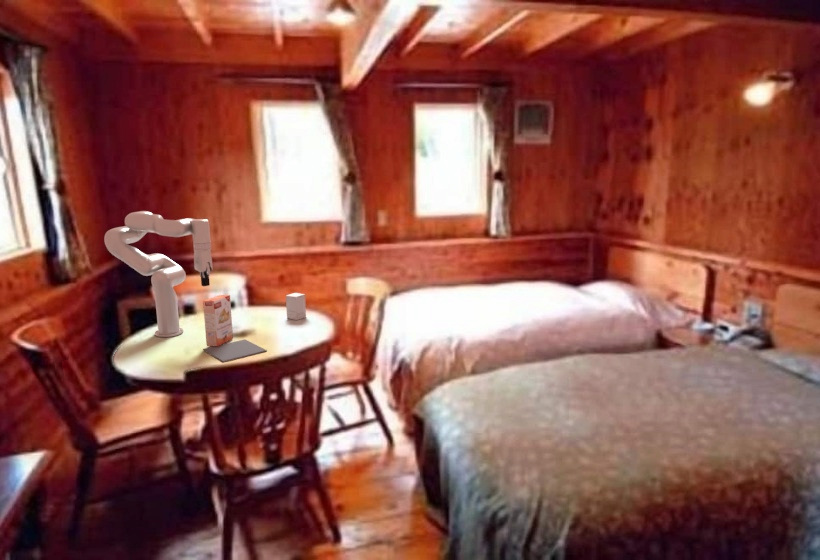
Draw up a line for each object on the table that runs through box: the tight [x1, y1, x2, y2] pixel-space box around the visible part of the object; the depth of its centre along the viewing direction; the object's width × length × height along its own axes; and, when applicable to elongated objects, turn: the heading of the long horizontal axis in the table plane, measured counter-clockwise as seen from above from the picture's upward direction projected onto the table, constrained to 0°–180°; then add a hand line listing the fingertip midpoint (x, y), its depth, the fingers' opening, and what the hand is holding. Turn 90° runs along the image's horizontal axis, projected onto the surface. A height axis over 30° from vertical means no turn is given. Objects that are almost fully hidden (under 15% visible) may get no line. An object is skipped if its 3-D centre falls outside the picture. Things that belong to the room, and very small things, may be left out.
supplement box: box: [285, 292, 307, 321], centre depth 296 cm, size 7×7×13 cm
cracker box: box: [202, 294, 234, 347], centre depth 254 cm, size 14×6×21 cm, turn 168°
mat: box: [202, 339, 268, 363], centre depth 246 cm, size 20×20×1 cm
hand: (205, 285), depth 260 cm, fingers closed
